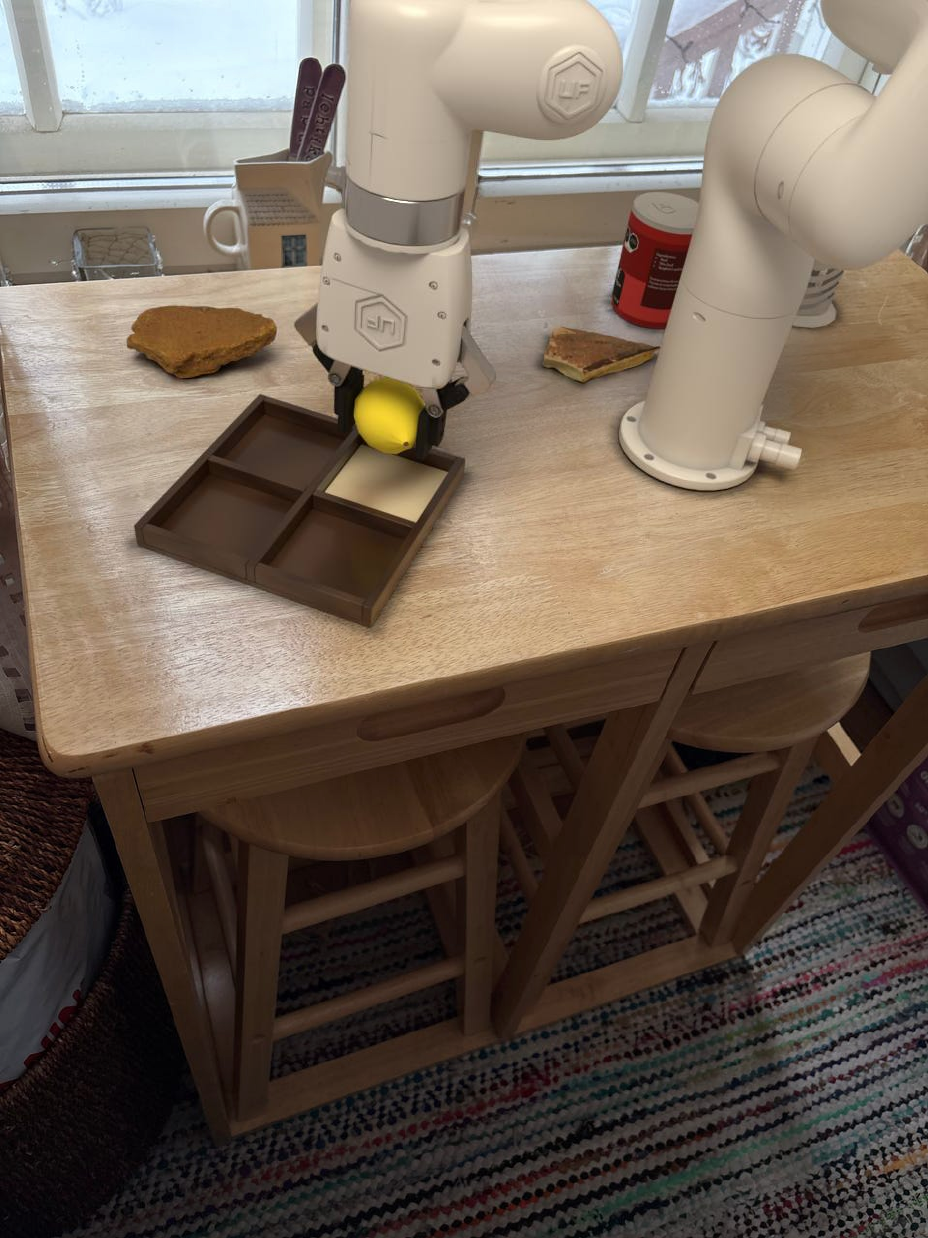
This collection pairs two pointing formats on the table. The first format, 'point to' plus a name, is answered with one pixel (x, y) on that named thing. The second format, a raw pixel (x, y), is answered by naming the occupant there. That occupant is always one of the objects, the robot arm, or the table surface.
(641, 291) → the canned food
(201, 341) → the artifact
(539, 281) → the table surface
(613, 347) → the pie slice
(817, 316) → the french press
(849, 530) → the table surface
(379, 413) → the lemon
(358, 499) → the brown compartment tray
